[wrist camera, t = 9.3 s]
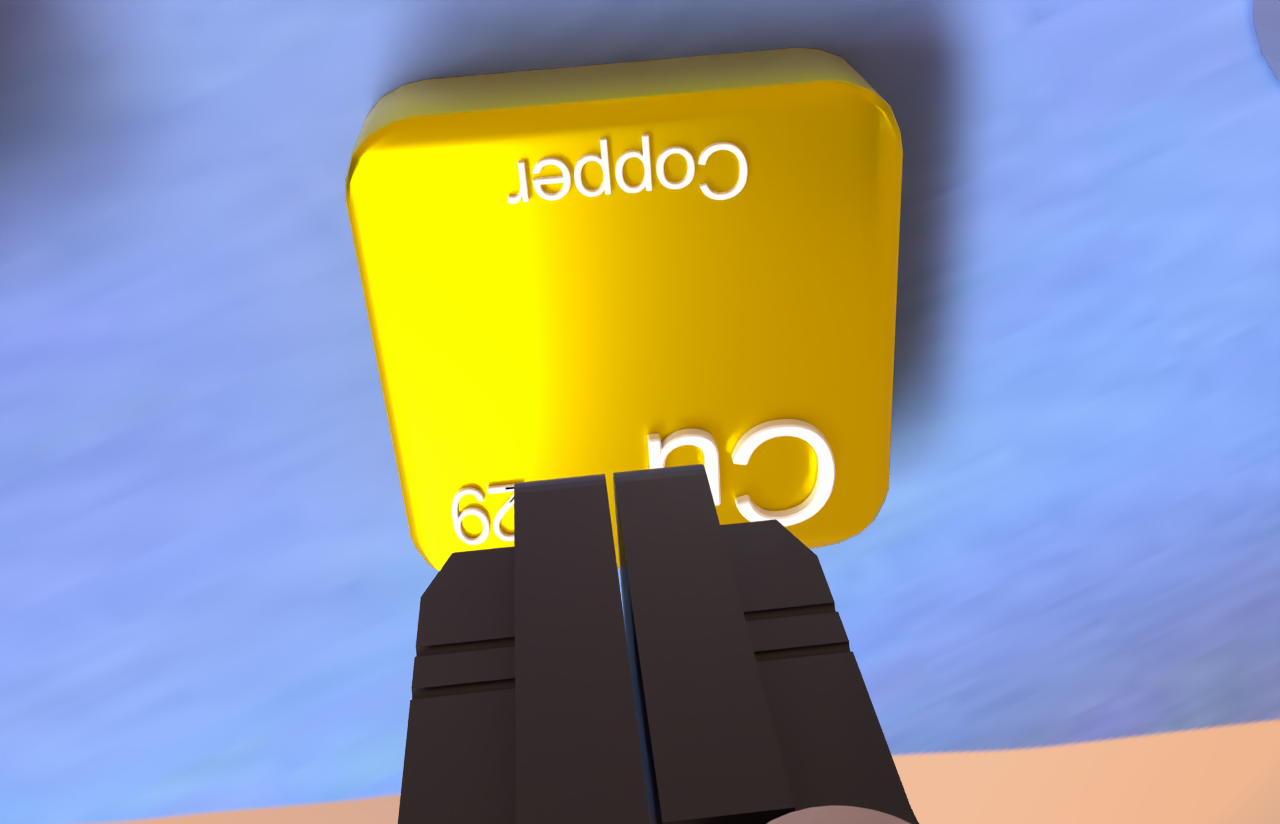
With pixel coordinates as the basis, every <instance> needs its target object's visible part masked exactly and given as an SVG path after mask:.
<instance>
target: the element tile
mask: <svg viewBox="0 0 1280 824" xmlns="http://www.w3.org/2000/svg"><path fill="white" fill-rule="evenodd" d="M902 163H903V148H902V140H901V132H900V128H899V126H898V123H897V121H896V118H895V116H894V114H893V111H892V109H891V106H890V105H889V104H888V103H887V102H886V101H885V100H884V99H883V98H882V97H881V96H880V95H879V94H878V93H877V92H876V91H875V90H874V89H873V88H872V86H871V85H870V84H869V83H868V82H867V81H866V80H865V79H864V78H863V77H862V76H861V75H860V74H859V73H858V72H857V71H856V70H855V69H853V68H852V67H851V66H850V65H849V64H848V63H847V62H846V61H845V60H844V59H843V58H842V57H839V56H836V55H834V54H831V53H828V52H825V51H822V50H819V49H810V48H785V49H773V50H761V51H750V52H738V53H727V54H715V55H703V56H692V57H680V58H669V59H657V60H645V61H634V62H622V63H611V64H599V65H587V66H576V67H564V68H552V69H541V70H529V71H518V72H506V73H494V74H483V75H471V76H460V77H448V78H436V79H425V80H421V81H417V82H413V83H409V84H405V85H403V86H401V87H399V88H397V89H396V90H394V91H392V92H390V93H388V94H387V95H385V96H383V97H381V99H380V100H379V101H378V102H377V104H376V105H375V106H374V108H373V109H372V110H371V112H370V113H369V114H368V115H367V117H366V120H365V122H364V125H363V127H362V130H361V132H360V135H359V137H358V139H357V142H356V144H355V147H354V149H353V152H352V155H351V159H350V163H349V167H348V171H347V175H346V179H345V188H346V205H347V211H348V216H349V221H350V226H351V231H352V236H353V242H354V247H355V252H356V257H357V262H358V268H359V273H360V278H361V283H362V288H363V294H364V299H365V304H366V309H367V314H368V319H369V325H370V330H371V335H372V340H373V345H374V351H375V356H376V361H377V366H378V371H379V376H380V382H381V387H382V392H383V397H384V402H385V408H386V413H387V418H388V423H389V428H390V434H391V439H392V444H393V449H394V454H395V459H396V465H397V470H398V475H399V480H400V485H401V491H402V496H403V501H404V506H405V511H406V516H407V522H408V527H409V532H410V536H411V539H412V541H413V543H414V545H415V547H416V549H417V550H418V552H419V553H420V554H421V555H422V557H423V558H424V559H425V561H426V562H427V563H428V565H429V566H431V567H433V568H434V569H436V570H437V571H440V570H441V568H442V567H443V565H444V564H445V562H446V561H447V560H448V558H449V557H450V555H451V554H452V553H454V552H464V551H474V550H484V549H493V548H503V547H513V546H514V484H515V483H517V482H527V481H537V480H547V479H557V478H567V477H578V476H588V475H598V474H605V477H606V484H607V492H608V500H609V508H610V515H611V523H612V531H613V539H614V546H615V554H616V562H617V568H620V563H619V551H618V539H617V527H616V514H615V502H614V489H613V473H615V472H625V471H635V470H645V469H655V468H665V467H675V466H685V465H695V464H703V465H704V467H705V470H706V474H707V477H708V481H709V485H710V489H711V492H712V496H713V500H714V504H715V507H716V511H717V515H718V519H719V523H720V525H726V524H735V523H745V522H755V521H765V520H775V519H776V520H777V521H779V522H780V523H781V524H782V525H783V526H784V527H785V528H786V529H788V530H789V531H790V532H791V533H792V534H793V535H794V536H795V537H796V538H798V539H799V540H800V541H801V542H802V543H803V544H804V545H805V546H807V547H808V548H809V549H811V548H819V547H824V546H828V545H833V544H837V543H840V542H842V541H845V540H847V539H849V538H851V537H853V536H856V535H858V534H860V533H861V532H862V531H863V530H864V529H865V528H867V527H868V526H869V525H870V524H871V523H872V522H873V521H874V520H875V519H876V517H877V515H878V513H879V511H880V510H881V508H882V506H883V504H884V502H885V499H886V496H887V493H888V490H889V467H890V444H891V421H892V397H893V374H894V350H895V327H896V304H897V280H898V257H899V233H900V210H901V186H902Z"/></svg>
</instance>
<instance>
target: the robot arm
mask: <svg viewBox="0 0 1280 824" xmlns="http://www.w3.org/2000/svg"><path fill="white" fill-rule="evenodd" d="M1253 20H1254V27H1255V31H1256V34H1257V38H1258V42H1259V46H1260V50H1261V53H1262V55H1263V57H1264V58H1265V60H1266V62H1267V64H1268V66H1269V67H1270V69H1271V71H1272V73H1273V74H1274V76H1275V78H1276V79H1277V80H1278V81H1279V82H1280V0H1253ZM613 489H614V502H615V514H616V527H617V539H618V551H619V563H620V576H621V588H622V600H623V609H622V601H621V593H620V585H619V578H618V570H617V562H616V554H615V546H614V539H613V531H612V523H611V515H610V508H609V500H608V492H607V484H606V477H605V474H598V475H588V476H578V477H567V478H557V479H547V480H537V481H527V482H517V483H515V484H514V546H513V547H503V548H493V549H484V550H474V551H464V552H454V553H452V554H451V555H450V557H449V558H448V560H447V561H446V562H445V564H444V565H443V567H442V568H441V570H440V571H439V572H438V574H437V575H436V577H435V578H434V580H433V581H432V582H431V584H430V585H429V587H428V588H427V589H426V591H425V592H424V594H423V595H422V597H421V602H420V611H419V621H418V631H417V641H416V653H417V657H415V661H414V670H413V680H412V700H410V710H409V719H408V729H407V739H406V749H405V759H404V769H403V778H402V788H401V798H400V808H399V818H398V824H919V823H918V821H917V819H916V817H915V815H914V813H913V811H912V809H911V807H910V804H909V801H908V799H907V796H906V793H905V791H904V788H903V785H902V783H901V780H900V777H899V775H898V772H897V769H896V767H895V764H894V761H893V759H892V756H891V753H890V750H889V748H888V745H887V742H886V740H885V737H884V734H883V732H882V729H881V726H880V724H879V721H878V718H877V716H876V713H875V710H874V707H873V705H872V702H871V699H870V697H869V694H868V691H867V689H866V686H865V683H864V681H863V678H862V675H861V673H860V670H859V667H858V664H857V662H856V659H855V656H854V654H853V652H850V648H849V640H848V638H847V635H846V632H845V630H844V627H843V624H842V621H841V619H840V616H839V613H838V612H836V611H835V605H834V600H833V597H832V595H831V592H830V589H829V587H828V584H827V581H826V579H825V576H824V573H823V570H822V568H821V565H820V562H819V560H818V557H817V555H815V554H814V553H813V552H812V551H811V550H810V549H809V548H808V547H807V546H805V545H804V544H803V543H802V542H801V541H800V540H799V539H798V538H796V537H795V536H794V535H793V534H792V533H791V532H790V531H789V530H788V529H786V528H785V527H784V526H783V525H782V524H781V523H780V522H779V521H777V520H776V519H775V520H765V521H755V522H745V523H735V524H726V525H720V523H719V519H718V515H717V511H716V507H715V504H714V500H713V496H712V492H711V489H710V485H709V481H708V477H707V474H706V470H705V467H704V465H703V464H695V465H685V466H675V467H665V468H655V469H645V470H635V471H625V472H615V473H613ZM623 613H624V616H623Z"/></svg>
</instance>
